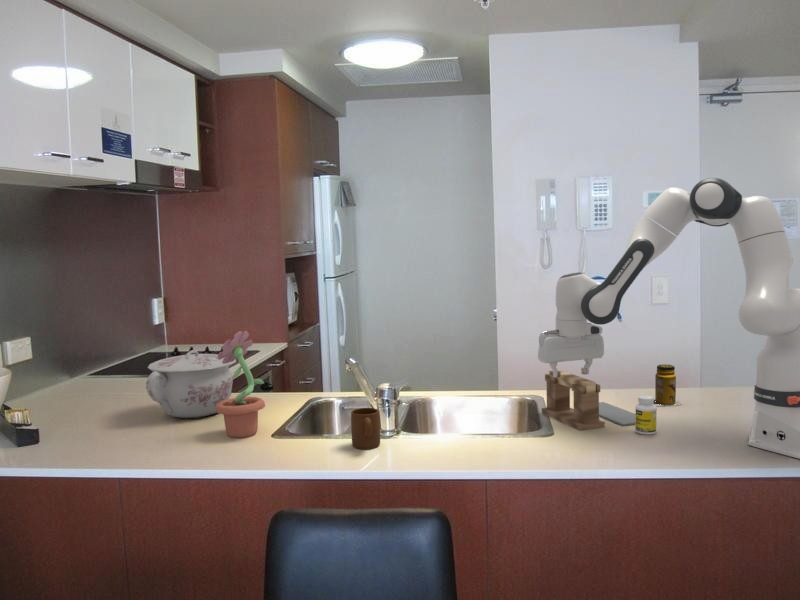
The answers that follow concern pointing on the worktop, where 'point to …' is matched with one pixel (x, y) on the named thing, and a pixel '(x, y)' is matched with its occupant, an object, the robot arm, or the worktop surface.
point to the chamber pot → (190, 384)
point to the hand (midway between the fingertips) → (571, 375)
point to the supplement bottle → (645, 415)
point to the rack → (584, 405)
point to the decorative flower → (240, 409)
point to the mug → (365, 428)
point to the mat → (616, 414)
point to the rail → (575, 381)
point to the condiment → (665, 386)
